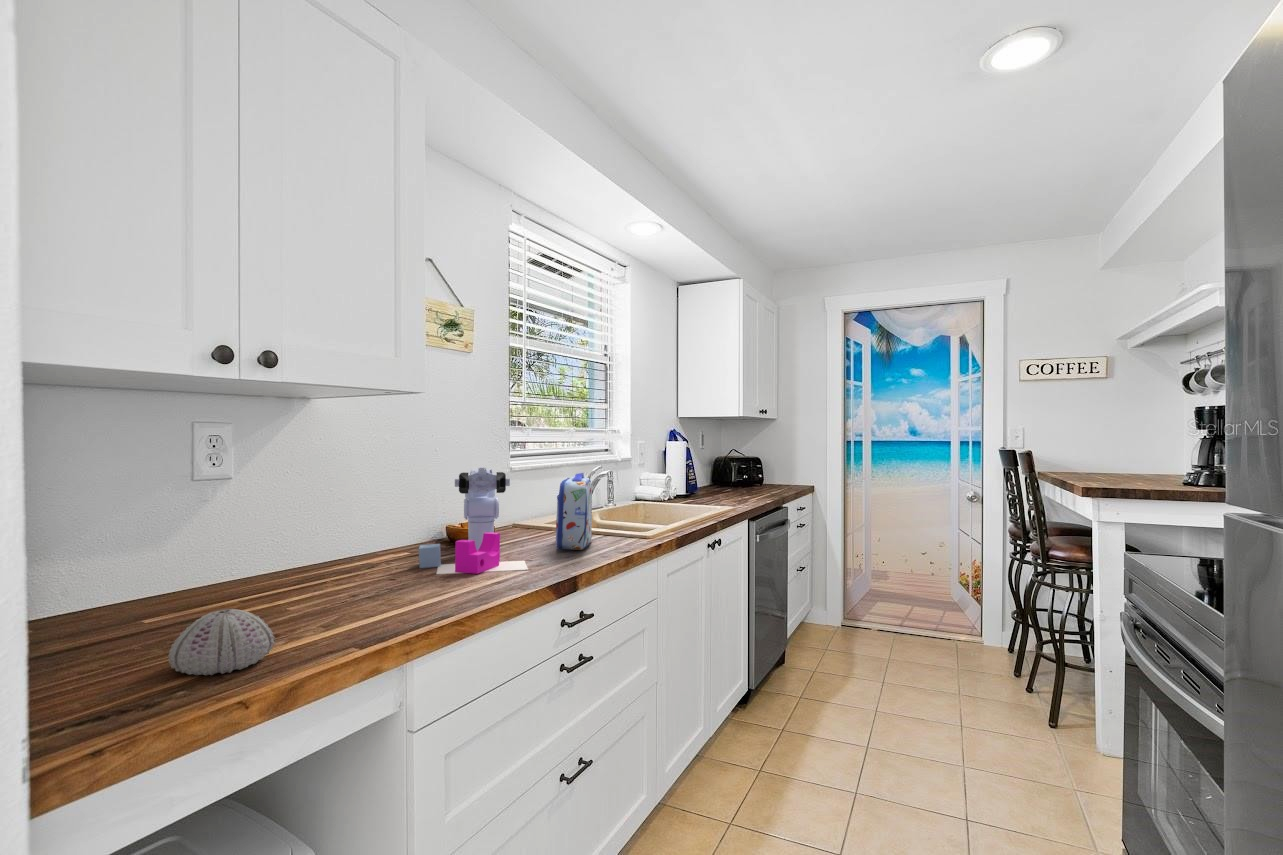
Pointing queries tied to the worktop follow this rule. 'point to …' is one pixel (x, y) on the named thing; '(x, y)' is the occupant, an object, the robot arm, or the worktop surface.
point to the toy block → (477, 554)
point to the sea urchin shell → (221, 643)
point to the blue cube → (429, 556)
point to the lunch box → (574, 513)
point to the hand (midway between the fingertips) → (483, 484)
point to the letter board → (502, 567)
